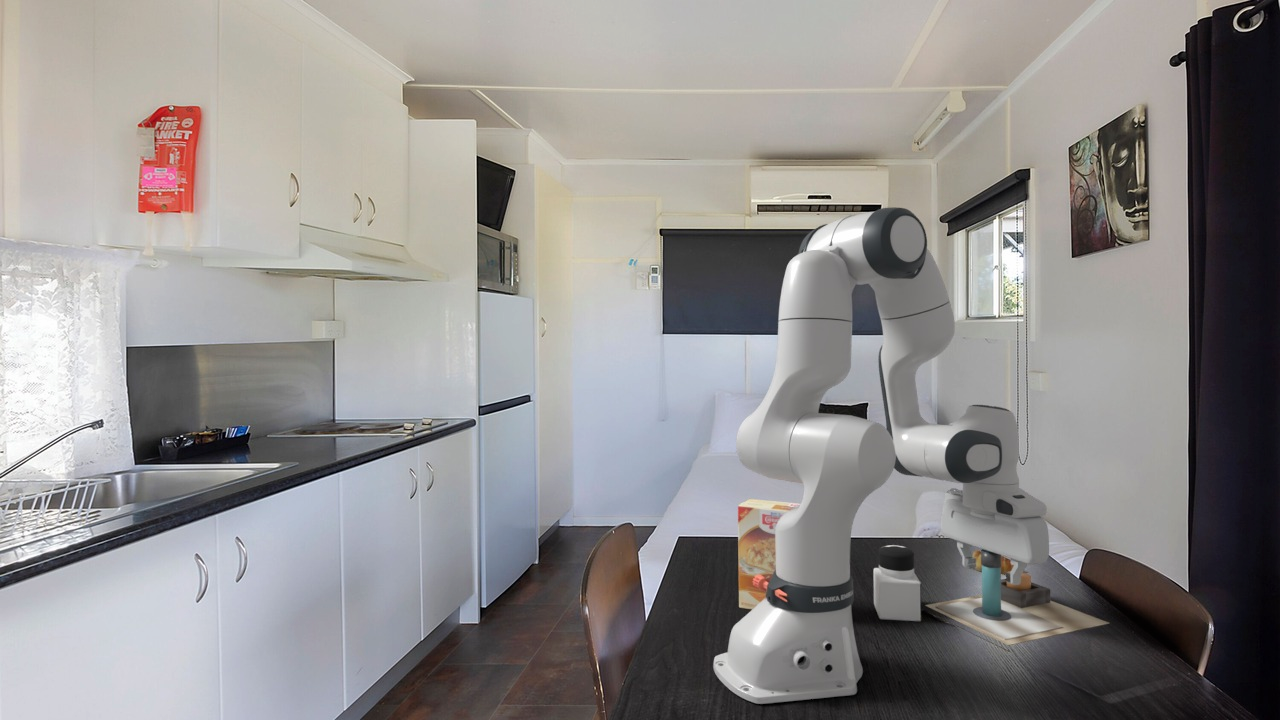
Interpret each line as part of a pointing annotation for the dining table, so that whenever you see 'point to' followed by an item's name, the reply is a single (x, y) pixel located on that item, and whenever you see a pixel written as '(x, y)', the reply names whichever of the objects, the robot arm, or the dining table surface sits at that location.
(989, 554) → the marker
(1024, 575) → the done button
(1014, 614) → the beige board with holder
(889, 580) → the medicine bottle
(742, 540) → the coffeecake box
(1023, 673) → the dining table surface
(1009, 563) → the pastry
